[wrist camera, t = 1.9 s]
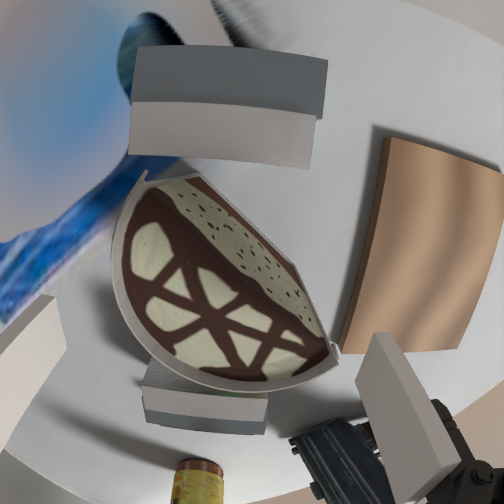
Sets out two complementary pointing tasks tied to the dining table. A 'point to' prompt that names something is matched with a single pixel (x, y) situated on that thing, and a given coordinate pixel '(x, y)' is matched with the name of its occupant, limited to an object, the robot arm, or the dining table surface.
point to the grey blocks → (225, 148)
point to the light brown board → (424, 249)
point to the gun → (344, 463)
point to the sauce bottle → (198, 483)
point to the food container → (213, 291)
